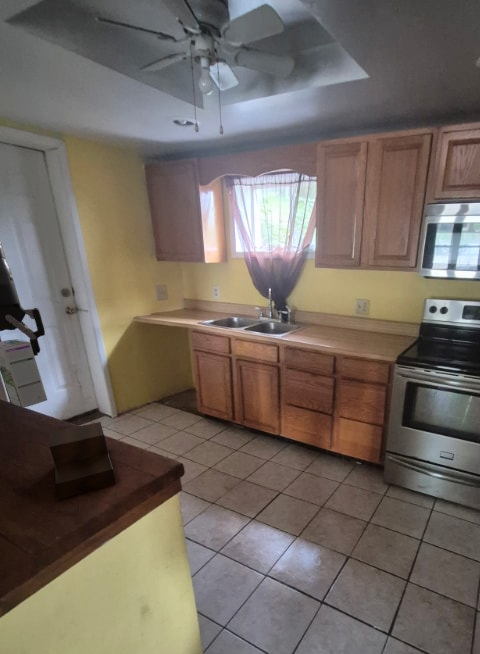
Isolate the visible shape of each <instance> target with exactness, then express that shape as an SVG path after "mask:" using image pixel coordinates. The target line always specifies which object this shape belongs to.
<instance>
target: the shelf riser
mask: <svg viewBox="0 0 480 654" xmlns="http://www.w3.org/2000/svg"><path fill="white" fill-rule="evenodd" d="M49 451H50V453H51V456H52V461H53V464H54V473H55V487H56V490H57V493H58V496H59V499H60V500H64V499H67V498H70V497H73V496H77V495H82V494H84V493H87V492H91V491H94V490H98V489H102V488H105V487H109V486H112V485H115V484H117V482H116V477H115V473H114V472H115V471H114V469H113V465H112V461H111V458H110V454H109V450H108V446H107V441H106V438H105V433H104V429H103V426H102V422H101V421H97V422H93V423H88V424H83V425H78V426H74V427H69V428H64V429H58V430H54V431H49Z"/></svg>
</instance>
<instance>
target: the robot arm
mask: <svg viewBox="0 0 480 654" xmlns="http://www.w3.org/2000/svg"><path fill="white" fill-rule="evenodd" d="M26 315H27V316H29V318H30V319H31V320H34V323H35V326H36V330H35V331H33V330H32V329H31V328H30V327H29V326H28V325H27V324H26V323H25V322H24V321H23V320H24V318H25V317H26ZM16 330H19V331H20V332H21V333H22V334H24V335H25V336H27V337H28V338H29V342H30V343H31V347H32V350H33V353H34V357H37V356H39V354H40V352H41V346H40V343H39V338H40V337H43V336H45V335H46V329H45V327H44V322H43V319H42V314H41V311H40V309H39V308H38V307H34V308H28V309H25V308H23V306H22V305H21V302H20V298H19V295H18V291H17V287H16V284H15V281H14V276H13V274H12V271H11V268H10V265H9V263H8V260H7V258H6V255H5V251H4V246H3V244H2V241H1V240H0V332H3V331H16Z"/></svg>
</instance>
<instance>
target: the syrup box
mask: <svg viewBox="0 0 480 654" xmlns="http://www.w3.org/2000/svg"><path fill="white" fill-rule="evenodd" d="M39 370H40V369H39V366H38V363H37V359H36V356H34V353H33V350H32V347H31V343H30V341H27V340H23V339H18V338H16V339H8V340H1V341H0V375H1V379H2V381H3V384H4V387H5V390H6V393H7V396H8V398H9V402H10V403H11V404H12V405H15V406H18V407H20V408H23V409H25V408H28V407H31V406H34V405H37V404H40V403H44V402H47V401H48V396H47V394H46V390H45V387H44V383H43V379H42V377H41V372H40V371H39Z"/></svg>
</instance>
